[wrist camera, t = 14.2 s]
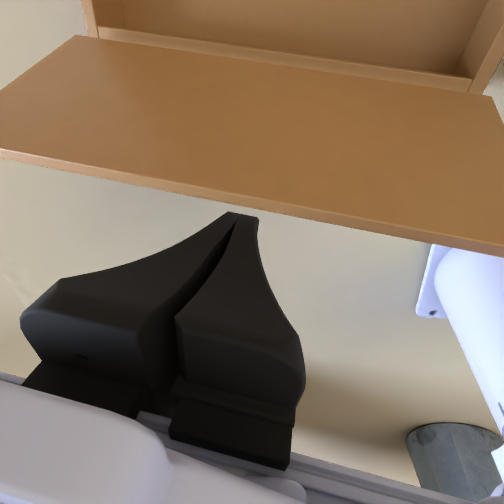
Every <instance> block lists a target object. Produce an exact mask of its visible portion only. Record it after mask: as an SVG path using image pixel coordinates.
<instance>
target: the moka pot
mask: <svg viewBox="0 0 504 504" xmlns="http://www.w3.org/2000/svg"><path fill="white" fill-rule="evenodd" d="M406 444H407V448H408V450H409V453H410V456H411V459H412V462H413V465H414V468H415V471H416V474H417V477H418V479H419V482H420V485H421V488H424V489H428V490H431V491H435V492H439V493H442V494H446V495H449V496H453V497H457V498H460V499H464V500H468V501H471V502H475V503H478V502H479V501H480V500H482V499H484V498H487V497H490V495H491V494H492V492H493V491H494V490H495V488H496V487H497V486H498V485H500V484H501V483H503V481H502V478H501V476H500V473H499V471H498V469H497V466H496V464H495V461H494V459H493V456H492V454H491V452H492V451H493V450H496V449H498V448H500V447H501V446H502V445H503V444H504V441H503V440H502V439H501V438H500V437H499V436H498V435H496V434H494V433H492V432H491V431H488V430H487V429H483V428H481V427H476V426H471V425H467V424H457V423H439V424H431V425H427V426H423V427H421V428H417V429H416V430H414V431H413V432H411V433H410V434H409V435H408V437H407V438H406Z"/></svg>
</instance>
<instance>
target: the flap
mask: <svg viewBox="0 0 504 504" xmlns="http://www.w3.org/2000/svg"><path fill="white" fill-rule="evenodd" d="M0 158H2V159H7V160H12V161H17V162H22V163H27V164H32V165H37V166H42V167H47V168H52V169H57V170H63V171H68V172H73V173H78V174H83V175H88V176H93V177H98V178H103V179H108V180H113V181H118V182H123V183H128V184H133V185H138V186H143V187H148V188H153V189H158V190H163V191H169V192H174V193H179V194H184V195H189V196H194V197H199V198H204V199H209V200H214V201H219V202H224V203H229V204H234V205H239V206H244V207H249V208H254V209H259V210H264V211H269V212H274V213H280V214H285V215H290V216H295V217H300V218H305V219H310V220H315V221H320V222H325V223H330V224H335V225H340V226H345V227H350V228H355V229H360V230H365V231H370V232H375V233H380V234H386V235H391V236H396V237H401V238H406V239H411V240H416V241H421V242H426V243H431V244H436V245H441V246H446V247H451V248H456V249H461V250H466V251H471V252H476V253H481V254H486V255H492V256H497V257H502V258H504V124H503V122H502V120H501V117H500V115H499V113H498V110H497V108H496V106H495V103H494V101H493V99H492V97H491V96H486V95H479V94H472V93H465V92H458V91H452V90H445V89H438V88H431V87H425V86H418V85H411V84H404V83H398V82H391V81H384V80H377V79H371V78H364V77H357V76H350V75H344V74H337V73H330V72H323V71H317V70H310V69H303V68H296V67H290V66H283V65H276V64H269V63H263V62H256V61H249V60H242V59H236V58H229V57H222V56H215V55H209V54H202V53H195V52H188V51H182V50H175V49H168V48H161V47H154V46H148V45H141V44H134V43H127V42H121V41H114V40H107V39H100V38H94V37H87V36H80V35H75V36H73V37H72V38H71V39H69V40H68V41H67V42H65V43H64V44H63V45H61V46H60V47H58V48H57V49H56V50H54V51H53V52H52V53H50V54H49V55H48V56H46V57H45V58H44V59H42V60H41V61H40V62H38V63H37V64H35V65H34V66H33V67H31V68H30V69H29V70H27V71H26V72H25V73H23V74H22V75H21V76H19V77H18V78H17V79H15V80H14V81H12V82H11V83H10V84H8V85H7V86H6V87H4V88H3V89H2V90H0Z"/></svg>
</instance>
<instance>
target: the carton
mask: <svg viewBox="0 0 504 504" xmlns="http://www.w3.org/2000/svg"><path fill="white" fill-rule="evenodd" d="M81 4H82V8H83V13H84V18H85V23H86V28H87V33H88V37H94V38H100V39H107V40H114V41H121V42H127V43H134V44H141V45H148V46H154V47H161V48H168V49H175V50H182V51H188V52H195V53H202V54H209V55H215V56H222V57H229V58H236V59H242V60H249V61H256V62H263V63H269V64H276V65H283V66H290V67H296V68H303V69H310V70H317V71H323V72H330V73H337V74H344V75H350V76H357V77H364V78H371V79H377V80H384V81H391V82H398V83H404V84H411V85H418V86H425V87H431V88H438V89H445V90H452V91H458V92H465V93H472V94H479V95H482V93H483V91H484V90H485V88H486V86H487V84H488V82H489V80H490V79H491V77H492V75H493V73H494V71H495V70H496V68H497V66H498V64H499V62H500V61H501V59H502V57H503V55H504V0H81Z"/></svg>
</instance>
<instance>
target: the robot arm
mask: <svg viewBox="0 0 504 504" xmlns="http://www.w3.org/2000/svg"><path fill="white" fill-rule="evenodd" d="M258 225H259V219H258V218H257V217H253V216H248V215H243V214H238V213H233V212H227V213H225V214H223V215H222V216H221V217H219V218H218V219H216V220H215V221H213V222H212V223H211V224H209V225H208V226H206V227H205V228H203V229H202V230H200V231H199V232H197V233H195V234H194V235H192V236H190V237H189V238H187V239H185V240H183V241H182V242H180V243H178V244H176V245H174V246H172V247H170V248H167V249H165V250H163V251H161V252H158V253H156V254H153V255H151V256H148V257H145V258H142V259H140V260H137V261H134V262H131V263H128V264H124V265H121V266H117V267H114V268H110V269H106V270H102V271H98V272H93V273H88V274H83V275H78V276H73V277H68V278H62V279H60V280H58V281H57V282H56V283H55V284H54V285H53V286H52V287H50V288H49V289H48V290H47V291H46V292H45V293H44V294H43V295H42V296H40V297H39V298H38V299H37V300H36V301H35V302H34V303H33V304H32V305H30V306H29V307H28V308H27V309H26V310H25V311H24V312H23V313H22V315H21V316H20V326H21V330H22V332H23V334H24V335H25V337H26V338H27V340H28V341H29V343H30V344H31V346H32V347H33V349H34V350H35V351H36V353H37V354H38V356H39V357H40V359H41V360H42V361H41V363H40V364H39V365H38V366H37V367H36V368H35V369H34V371H33V372H32V373H31V374H30V375H29V376H28V377H27V378H26V379H25V378H21V377H18V376H14V375H11V374H7V373H3V372H0V504H504V444H503V445H502V446H501V447H500V448H498V449H496V450H493V451H492V452H491V454H492V456H493V459H494V461H495V464H496V466H497V469H498V471H499V473H500V476H501V478H502V481H503V483H501V484H500V485H498V486H497V487H496V488H495V490H494V491H493V492H492V494H491V495H490V497H487V498H484V499H482V500H480V501H479V502H478V503H475V502H471V501H468V500H464V499H460V498H457V497H453V496H449V495H446V494H442V493H439V492H435V491H431V490H428V489H424V488H420V487H417V486H413V485H410V484H406V483H402V482H399V481H395V480H391V479H388V478H384V477H381V476H377V475H373V474H370V473H366V472H362V471H359V470H355V469H352V468H348V467H344V466H341V465H337V464H333V463H330V462H326V461H323V460H319V459H315V458H312V457H308V456H304V455H301V454H297V453H294V452H291V439H292V428H293V427H294V423H295V412H296V407H297V404H298V402H299V400H300V398H301V396H302V394H303V392H304V389H305V384H306V374H305V364H304V358H303V353H302V348H301V344H300V339H299V336H298V334H297V333H296V331H295V330H294V328H293V327H292V326H291V324H290V323H289V321H288V319H287V318H286V316H285V315H284V313H283V311H282V309H281V308H280V306H279V304H278V302H277V300H276V298H275V296H274V294H273V292H272V290H271V288H270V285H269V283H268V280H267V278H266V275H265V272H264V269H263V266H262V262H261V258H260V253H259V248H258V240H257V232H258ZM432 310H434V311H432ZM416 313H417V315H418V316H420V317H432V318H448V319H449V321H450V323H451V326H452V328H453V330H454V332H455V334H456V336H457V339H458V341H459V343H460V345H461V347H462V350H463V352H464V354H465V356H466V358H467V361H468V363H469V365H470V367H471V369H472V372H473V374H474V376H475V378H476V380H477V382H478V385H479V387H480V389H481V391H482V393H483V396H484V398H485V400H486V402H487V404H488V407H489V409H490V411H491V413H492V415H493V417H494V420H495V422H496V424H497V426H498V428H499V431H500V433H501V435H502V437H503V439H504V258H502V257H497V256H492V255H486V254H481V253H476V252H471V251H466V250H461V249H456V248H451V247H446V246H441V245H436V244H432V246H431V250H430V254H429V258H428V262H427V266H426V270H425V273H424V277H423V281H422V285H421V289H420V293H419V297H418V301H417V305H416Z"/></svg>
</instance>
